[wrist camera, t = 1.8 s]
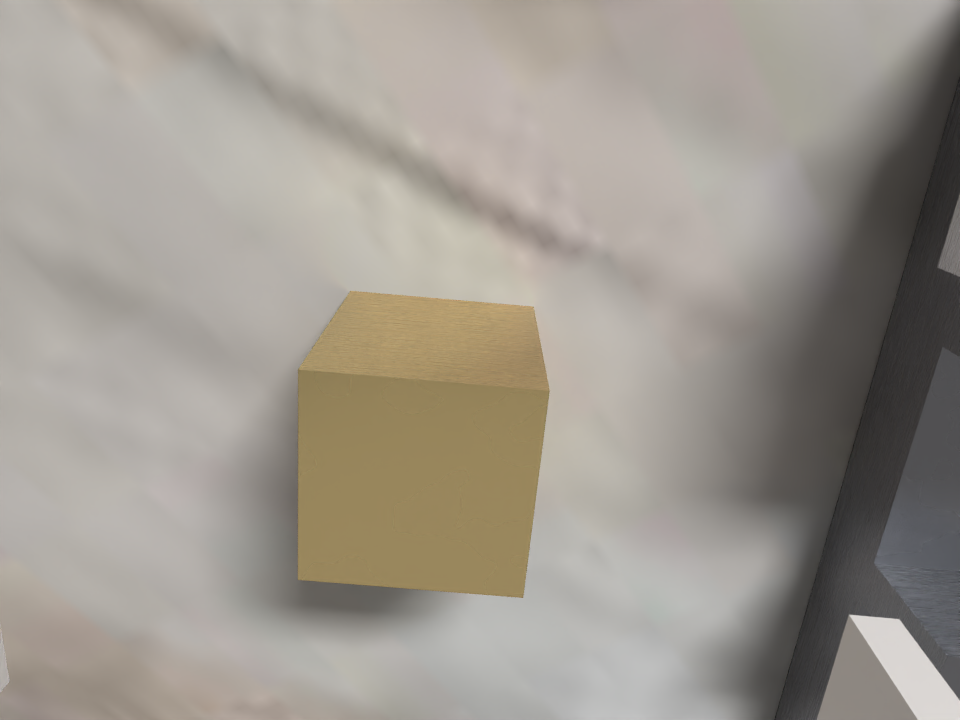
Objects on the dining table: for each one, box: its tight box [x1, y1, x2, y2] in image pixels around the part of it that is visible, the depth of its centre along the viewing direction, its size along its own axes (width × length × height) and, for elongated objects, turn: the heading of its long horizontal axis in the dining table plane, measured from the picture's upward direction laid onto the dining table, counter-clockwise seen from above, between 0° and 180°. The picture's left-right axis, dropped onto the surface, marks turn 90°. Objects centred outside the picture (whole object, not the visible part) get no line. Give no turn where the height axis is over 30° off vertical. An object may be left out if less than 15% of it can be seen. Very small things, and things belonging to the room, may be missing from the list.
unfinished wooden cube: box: [298, 291, 550, 598], centre depth 19 cm, size 5×5×6 cm
